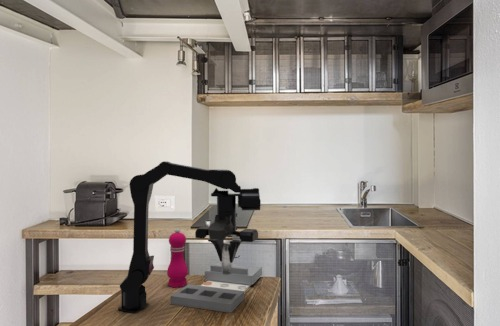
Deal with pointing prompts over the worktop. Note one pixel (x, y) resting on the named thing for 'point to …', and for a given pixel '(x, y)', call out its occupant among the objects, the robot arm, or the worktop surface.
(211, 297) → the hole board
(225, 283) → the plate
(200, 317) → the worktop surface
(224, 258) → the pin
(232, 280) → the cover
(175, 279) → the pepper mill
